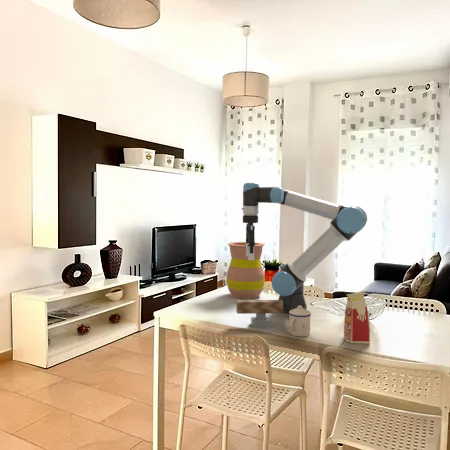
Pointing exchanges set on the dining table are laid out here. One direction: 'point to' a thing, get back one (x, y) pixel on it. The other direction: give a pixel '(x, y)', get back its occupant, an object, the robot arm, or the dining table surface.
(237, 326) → the dining table surface
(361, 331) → the milk carton
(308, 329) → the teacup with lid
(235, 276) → the vase
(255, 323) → the block
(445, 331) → the dining table surface
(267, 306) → the walnut bar
